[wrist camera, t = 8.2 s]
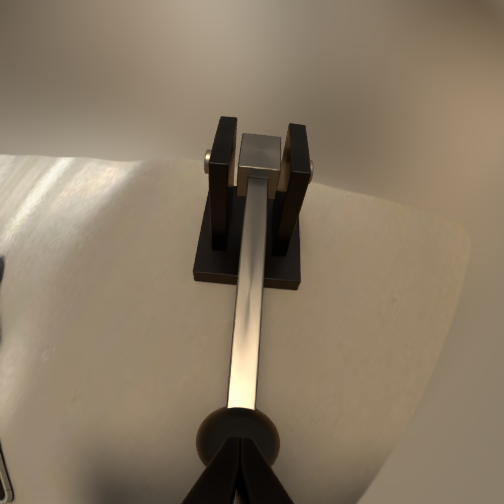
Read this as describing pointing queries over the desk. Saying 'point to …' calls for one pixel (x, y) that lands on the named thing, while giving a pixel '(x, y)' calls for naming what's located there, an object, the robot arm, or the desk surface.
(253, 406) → the switch lever
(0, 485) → the smartphone
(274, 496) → the robot arm
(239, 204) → the lever bracket
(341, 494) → the desk surface
